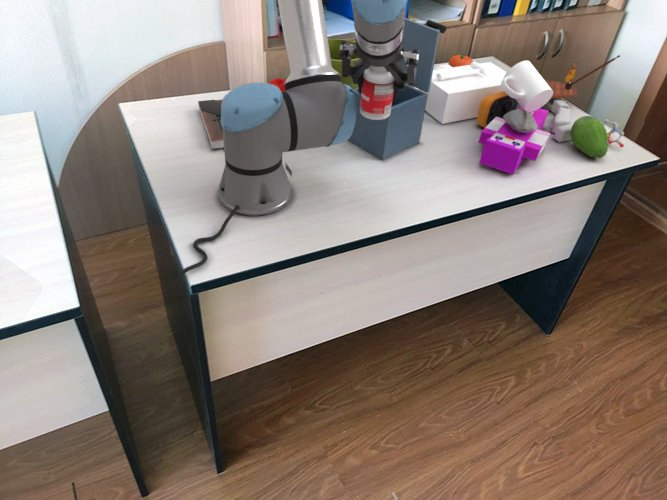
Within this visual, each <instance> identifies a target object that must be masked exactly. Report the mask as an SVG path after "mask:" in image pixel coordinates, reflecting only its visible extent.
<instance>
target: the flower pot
mask: <svg viewBox="0 0 667 500" xmlns="http://www.w3.org/2000/svg"><path fill="white" fill-rule="evenodd" d="M342 40H343V39H341V38H330V39H329V38H328V45H329V51H330V58H331V64H332V68H333V69H334V70H336V71H337V72H338V73H340V74H341V80H342V85H343V84H345V85H348V86H350V87H351V88H352V90H353V89H356V88H358V84H354V83H353V79H352V77H351V76H348V77H343V76H342V59H341V58H340V56H339V51H340V45H341V41H342ZM344 40H345V41H347V42H348V43H349V44H352V45H355V43H356V41H354V40H348V39H344ZM358 59H359V57H358V56H356V55H355V54H354V53H353V55H352V56H351V64H350V66H353V67H354V62H357V60H358Z"/></svg>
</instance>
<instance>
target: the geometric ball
mask: <svg viewBox="0 0 667 500" xmlns="http://www.w3.org/2000/svg"><path fill="white" fill-rule="evenodd" d="M448 64H449V63H447V64H444V63H443V64H439V65H437V66H434V68H433V70H438V69H445V68H452V67H451V66H450V65H448Z"/></svg>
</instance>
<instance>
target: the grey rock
mask: <svg viewBox="0 0 667 500" xmlns="http://www.w3.org/2000/svg"><path fill="white" fill-rule="evenodd" d="M503 118H504V120H505V122H506V123H507V124H509V125H510V126H511V128H512V129H514V130H515V131H518V132H522V133H528V132H532V131H534V130H536V129H537V128H538V125H537V124H536V122H535V120H534V118H533V117H532V113H531V114H530V113H529V112H528V111H526V110H523V109H516V110H512V111H510V112H508V113H506V114H505V115H504V116H503Z"/></svg>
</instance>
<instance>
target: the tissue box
mask: <svg viewBox="0 0 667 500" xmlns="http://www.w3.org/2000/svg"><path fill="white" fill-rule="evenodd" d="M507 72H508V71H505V70H504V69H502V67H499V66H497V65H496V64H494V63H493V62H491V61H488V62H487V61H486V62H480V63H478V62H477V61H473V62H472V63H471V64H470V65H466V66H459V67H452V68H445V69H438V70H434V69H433V74H432V79H431V85H430V91H429V92H428V93H427V92H424V91H422V90H420V89H419V91H422V92H424V93H426V94H428V97H427V102H426V108H425V112H426V113H428V114H429V115H430V116H431V117H432V118H434V119H435V120H437V121H438V122H439V123H440V124H442V125H444V124H449V123H454V122H455V123H456V122H458V121H464V120H470V119H475V118H476V119H477V116H478V112H479V108H480V104H481V102H482V100H483V99H484V98H485V97H487V96H489V95H493V94H496V93H500V92H503V91H504V90H503V89H502V86H501V82H502V80H503V78H504V76H505V74H506V73H507Z"/></svg>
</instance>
